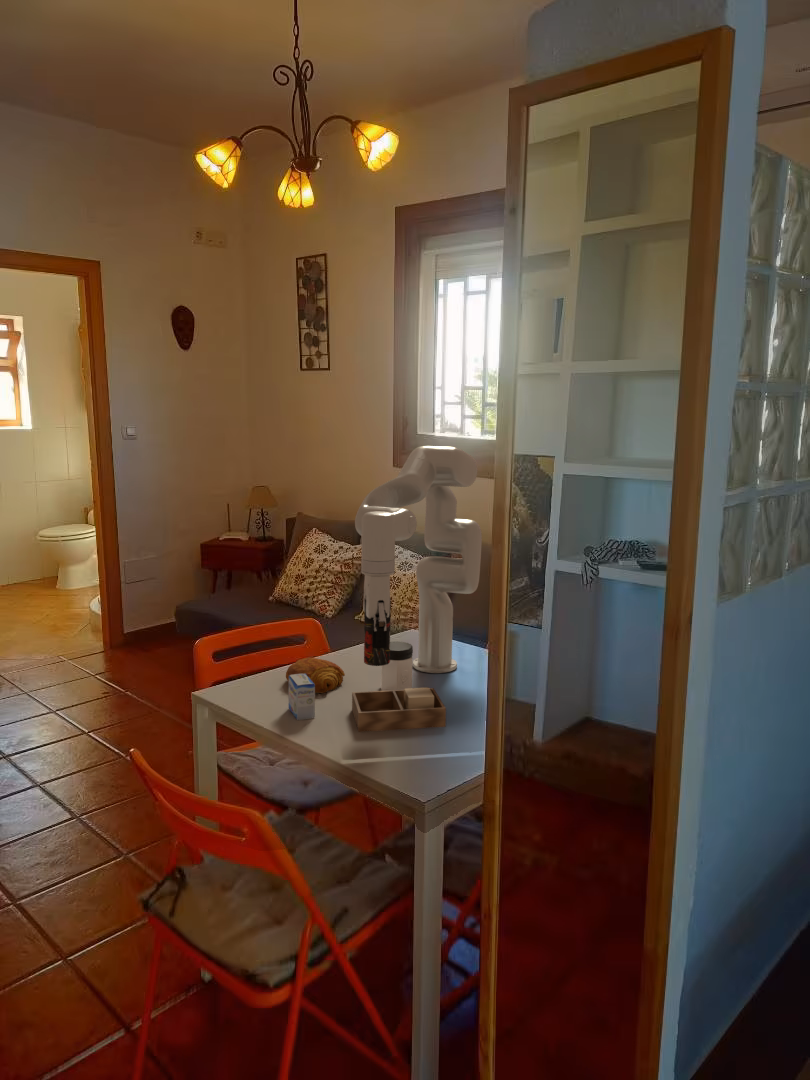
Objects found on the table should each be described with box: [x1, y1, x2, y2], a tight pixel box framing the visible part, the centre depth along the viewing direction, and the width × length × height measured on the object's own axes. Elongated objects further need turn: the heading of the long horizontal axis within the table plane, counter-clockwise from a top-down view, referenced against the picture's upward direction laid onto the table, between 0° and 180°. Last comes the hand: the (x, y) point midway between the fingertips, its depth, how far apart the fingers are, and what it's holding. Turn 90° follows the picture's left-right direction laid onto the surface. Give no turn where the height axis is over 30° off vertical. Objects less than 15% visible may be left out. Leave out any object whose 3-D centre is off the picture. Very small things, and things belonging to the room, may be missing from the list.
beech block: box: [404, 686, 434, 710], centre depth 186 cm, size 6×6×6 cm
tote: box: [351, 687, 447, 733], centre depth 185 cm, size 20×13×5 cm, turn 100°
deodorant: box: [363, 597, 392, 667], centre depth 181 cm, size 6×6×15 cm
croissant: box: [285, 657, 346, 694], centre depth 208 cm, size 14×16×8 cm
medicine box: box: [288, 674, 316, 721], centre depth 188 cm, size 8×4×9 cm, turn 23°
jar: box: [380, 641, 414, 691], centre depth 204 cm, size 9×8×12 cm
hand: (377, 642), depth 181 cm, fingers closed on deodorant, 5 cm apart
